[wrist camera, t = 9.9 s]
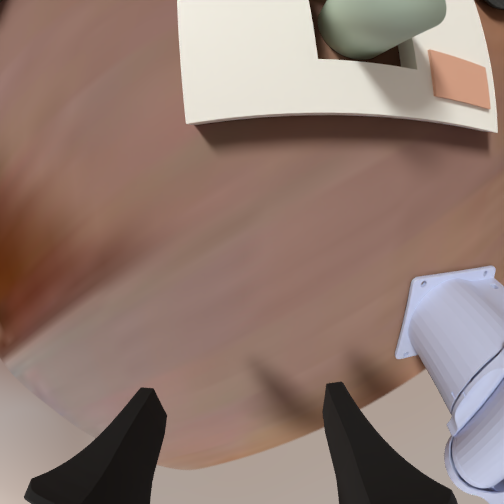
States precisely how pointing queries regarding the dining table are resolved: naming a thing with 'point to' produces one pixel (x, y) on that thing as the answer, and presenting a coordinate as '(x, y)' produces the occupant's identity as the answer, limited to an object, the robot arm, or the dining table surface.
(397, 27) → the peg
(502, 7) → the sushi plate
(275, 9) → the hole board
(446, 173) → the dining table surface
